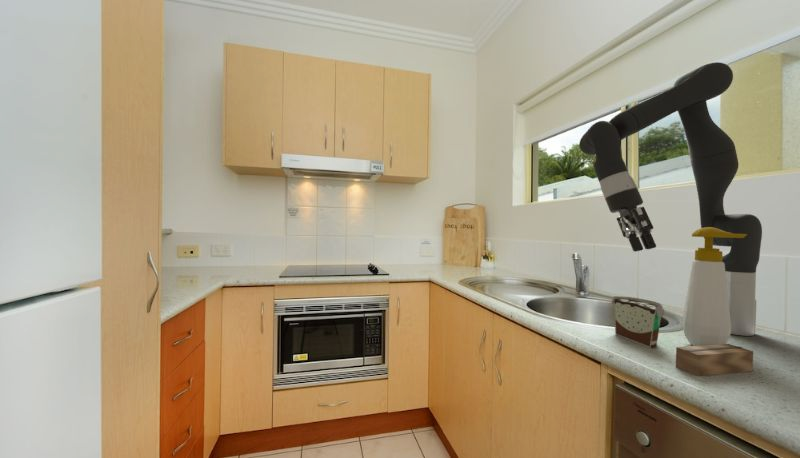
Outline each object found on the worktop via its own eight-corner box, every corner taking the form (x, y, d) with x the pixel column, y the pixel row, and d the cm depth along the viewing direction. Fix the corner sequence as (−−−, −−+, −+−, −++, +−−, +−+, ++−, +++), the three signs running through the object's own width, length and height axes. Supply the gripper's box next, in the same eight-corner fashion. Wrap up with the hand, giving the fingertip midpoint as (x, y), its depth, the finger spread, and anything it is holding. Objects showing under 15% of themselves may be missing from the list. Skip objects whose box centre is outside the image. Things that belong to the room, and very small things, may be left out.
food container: (677, 349, 74) (679, 306, 74) (656, 350, 72) (658, 307, 72) (629, 331, 86) (630, 295, 86) (610, 332, 84) (611, 295, 84)
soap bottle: (738, 362, 67) (743, 226, 66) (675, 346, 75) (679, 226, 75) (746, 349, 74) (751, 228, 74) (688, 336, 83) (692, 227, 82)
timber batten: (728, 362, 66) (728, 343, 66) (752, 371, 63) (753, 350, 63) (675, 366, 64) (676, 346, 64) (697, 375, 60) (698, 354, 60)
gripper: (646, 180, 76) (674, 243, 73) (627, 193, 90) (650, 247, 86) (612, 190, 79) (638, 252, 75) (598, 202, 92) (620, 255, 88)
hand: (644, 249), depth 81 cm, fingers open, 8 cm apart
